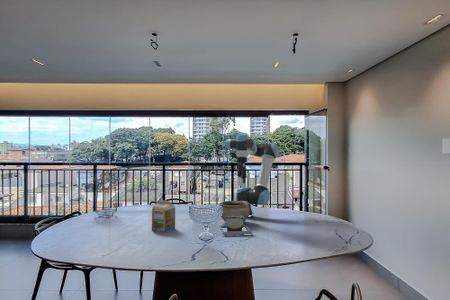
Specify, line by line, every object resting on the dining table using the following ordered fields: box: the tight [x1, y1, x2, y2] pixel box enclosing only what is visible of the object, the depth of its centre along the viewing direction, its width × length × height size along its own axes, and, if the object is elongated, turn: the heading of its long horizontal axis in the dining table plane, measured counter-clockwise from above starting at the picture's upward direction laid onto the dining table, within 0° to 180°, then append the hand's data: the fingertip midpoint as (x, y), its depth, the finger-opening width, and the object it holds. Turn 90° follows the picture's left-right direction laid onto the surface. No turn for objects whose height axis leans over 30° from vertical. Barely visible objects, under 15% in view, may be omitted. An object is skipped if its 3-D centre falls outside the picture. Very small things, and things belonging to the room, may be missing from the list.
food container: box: [225, 214, 244, 232], centre depth 186 cm, size 12×6×10 cm, turn 86°
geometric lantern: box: [92, 171, 121, 219], centre depth 230 cm, size 16×16×35 cm
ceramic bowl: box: [218, 200, 249, 223], centre depth 210 cm, size 22×22×15 cm
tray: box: [218, 224, 253, 236], centre depth 185 cm, size 18×18×2 cm
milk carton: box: [151, 199, 176, 234], centre depth 190 cm, size 11×11×19 cm
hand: (241, 186), depth 205 cm, fingers open, 13 cm apart
